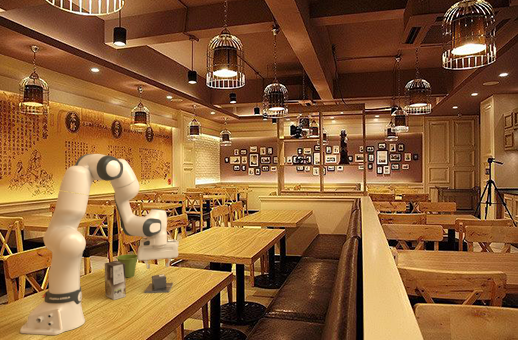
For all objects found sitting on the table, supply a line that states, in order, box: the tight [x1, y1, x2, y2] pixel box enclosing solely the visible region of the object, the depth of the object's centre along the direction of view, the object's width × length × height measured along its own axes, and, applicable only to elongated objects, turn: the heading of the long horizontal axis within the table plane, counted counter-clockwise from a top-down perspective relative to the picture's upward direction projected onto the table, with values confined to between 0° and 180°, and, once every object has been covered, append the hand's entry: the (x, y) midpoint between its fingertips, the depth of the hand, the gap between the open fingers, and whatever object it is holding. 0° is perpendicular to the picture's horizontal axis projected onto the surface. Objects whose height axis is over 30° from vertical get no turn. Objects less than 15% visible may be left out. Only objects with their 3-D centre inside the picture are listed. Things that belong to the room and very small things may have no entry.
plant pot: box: [116, 253, 138, 279], centre depth 213 cm, size 12×12×11 cm
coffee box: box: [104, 260, 127, 301], centre depth 182 cm, size 9×6×16 cm
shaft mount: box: [143, 282, 174, 294], centre depth 192 cm, size 12×12×4 cm
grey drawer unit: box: [151, 273, 167, 289], centre depth 192 cm, size 6×6×6 cm
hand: (157, 267), depth 191 cm, fingers open, 8 cm apart
